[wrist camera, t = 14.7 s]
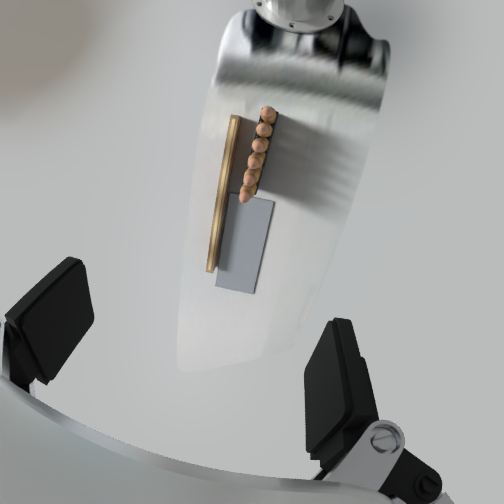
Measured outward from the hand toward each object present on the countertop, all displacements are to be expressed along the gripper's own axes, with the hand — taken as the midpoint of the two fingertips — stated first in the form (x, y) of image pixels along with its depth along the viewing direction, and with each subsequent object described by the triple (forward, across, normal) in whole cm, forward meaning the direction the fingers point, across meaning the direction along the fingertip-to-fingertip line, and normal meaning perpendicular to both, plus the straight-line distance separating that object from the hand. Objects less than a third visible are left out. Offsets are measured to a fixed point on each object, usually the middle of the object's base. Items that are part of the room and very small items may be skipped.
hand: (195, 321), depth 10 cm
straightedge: (+29, +4, +4) cm, 30 cm away
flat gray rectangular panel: (+29, 0, +11) cm, 31 cm away
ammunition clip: (+30, 0, -3) cm, 30 cm away
